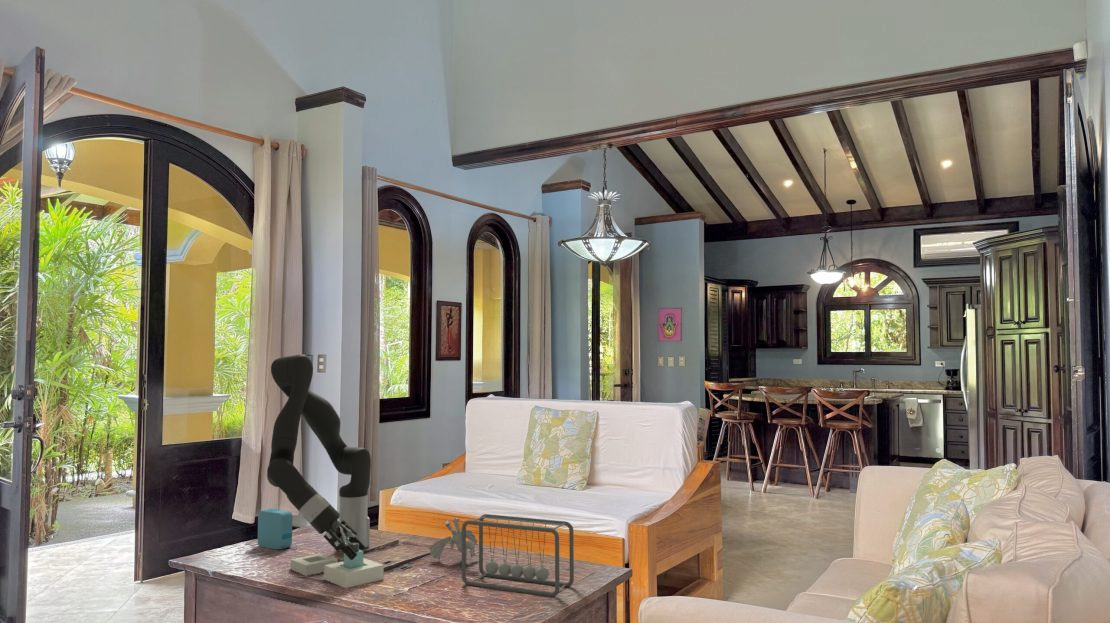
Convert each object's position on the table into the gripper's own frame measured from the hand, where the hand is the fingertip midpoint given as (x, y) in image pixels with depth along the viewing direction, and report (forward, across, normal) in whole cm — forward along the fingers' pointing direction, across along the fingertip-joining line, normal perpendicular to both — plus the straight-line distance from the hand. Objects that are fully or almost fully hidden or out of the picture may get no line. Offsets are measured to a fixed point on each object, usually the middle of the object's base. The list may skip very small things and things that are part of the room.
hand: (358, 553), depth 216 cm
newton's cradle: (+38, -7, -27) cm, 47 cm away
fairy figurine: (+24, +19, -13) cm, 33 cm away
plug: (+4, 0, +6) cm, 7 cm away
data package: (-22, +39, +33) cm, 55 cm away
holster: (-6, +11, +16) cm, 21 cm away
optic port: (+4, 0, +6) cm, 7 cm away
